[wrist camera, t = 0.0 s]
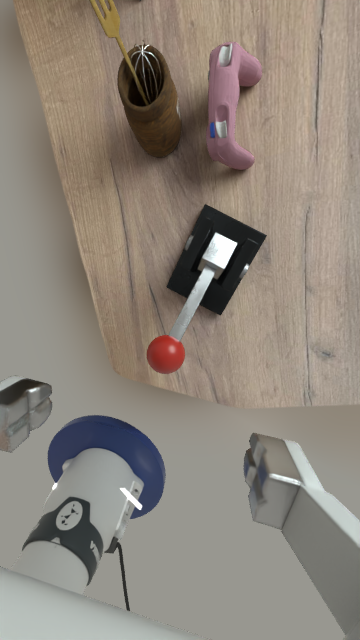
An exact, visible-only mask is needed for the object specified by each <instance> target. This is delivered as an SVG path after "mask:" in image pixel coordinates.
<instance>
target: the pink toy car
mask: <svg viewBox="0 0 360 640" xmlns="http://www.w3.org/2000/svg"><path fill="white" fill-rule="evenodd" d="M209 65H210V70H209V73H208V81H209V90H208V116H209V123H208V126H207V130H206V142H207V148H208V152H209V155H210V157H211V158H212V160H213V161H219V162H221V163H223V164H225V165H227V166H229V167H231V168H234V169H241V170H244V169H248V168H249V167H251V166H252V165H253V163H254V160H255V159H254V157H253V155H252V154H251V153H250V152H249V151H247V150H245V149H244V148H242V147H241V146H240V145H238V144H237V143H236V141H235V136H234V135H235V113H236V109H237V105H238V100H239V91H240V89H239V85H241V86H253V85H255V84H257V83H258V82H259V80H260V79H261V76H262V66H261V64H260V62H259V61H258V60H257V59H256V58H255V57H254V56H252V55H251V54H249V53H248V52H246V51H245V50H244V49H243V48H242V47H241V46H240V45H239V44H238V43H236V42H226V43H223V44H221V45H219V46H218V47H216V48H215V49H214V50H212V52H211V54H210V60H209Z"/></svg>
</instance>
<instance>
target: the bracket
mask: <svg viewBox="0 0 360 640" xmlns="http://www.w3.org/2000/svg"><path fill="white" fill-rule="evenodd" d="M215 232H216V233H218V234H220V235H222V236H224V237H226V238H228V239H230V240H232V241H234V242H236V243H237V246H236V248H235V250H234V252H233V253H232V255H231V257H230V259H229V261H228V263H227V265H226V267H225V269H224V271H223V272H222V274H221V275H220V276H219V278H218V279H215V278H214V277H213V278H212V280H211V282H210V284H209V286H208V288H207V290H206V292H205V294H204V296H203V298H202V300H201V301H200V303H199V304H200V305H201V306H203V307H205V308H207V309H209V310H211V311H213V312H215V313H217V314H219V315H221V314H222V312H223V311H224V309H225V307H226V305H227V304H228V302H229V300H230V299H231V297H232V295H233V293H234V292H235V290H236V288H237V286H238V285H239V283H240V281H241V279H242V278H243V276H244V275H245V273H246V272H247V270H248V268H249V266H250V264H251V262H252V260H253V259H254V257H255V255H256V253H257V252H258V250H259V248H260V247H261V245H262V243H263V241H264V240H265V238H266V236H267V235H265V234H263V233H261V232H259V231H257V230H255V229H253V228H251V227H249V226H247V225H245V224H243V223H241V222H239V221H238V220H236V219H234V218H232V217H230V216H228V215H226V214H224V213H222V212H220V211H218V210H216V209H214V208H212V207H210V206H208V205H206V204H205V205H204V207H203V210H202V212H201V214H200V216H199V218H198V220H197V222H196V225H195V227H194V229H193V231H192V233H191V235H190V237H189V239H188V241H187V243H186V245H185V248H184V250H183V252H182V255H181V257H180V259H179V261H178V263H177V265H176V267H175V270H174V272H173V274H172V276H171V278H170V280H169V282H168V285H167V288H169V289H171V290H173V291H174V292H176V293H178V294H180V295H182V296H184V297H186V298H188V297H189V295H190V293H191V291H192V289H193V288H194V286H195V284H196V282H197V280H198V278H199V276H200V274H201V272H202V271H200V270H198V267H199V264H200V261H201V258H202V256H203V254H204V253H205V251H206V249H207V247H208V245H209V243H210V241H211V239H212V238H213V236H214V234H215Z"/></svg>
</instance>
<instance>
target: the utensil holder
mask: <svg viewBox="0 0 360 640" xmlns="http://www.w3.org/2000/svg"><path fill="white" fill-rule="evenodd" d="M90 2H91V4H92V6H93V9H94V11H95V13H96V15H97V17H98V19H99V21H100V23H101V25H102V28H103V30H104V32H105V34H106V35H107V36H108V37H109V38H113V37H115V38H116V40H117V42H118V45H119V47H120V49H121V51H122V53H123V56H124V58H123V60H122V62H121V65H120V67H119V71H118V90H119V94H120V97H121V100H122V103H123V105H124V109H125V114H126V117H127V120H128V122H129V124H130V126H131V128H132V130H133V132H134V134H135V136H136V138H137V140H138V142H139V144H140V145H141V147H142V148H143V149H144V150H145V151H146V152H147V153H148V154H150V155H152V156H154V157H163V156H166V155H168V154H170V153H171V152H172V151H173V150H174V149H175V148H176V146H177V144H178V142H179V140H180V137H181V131H182V122H181V114H180V108H179V102H178V97H177V92H176V88H175V85H174V83H173V81H172V79H171V75H170V71H169V68H168V66H167V63H166V61H165V59H164V57H163V55H162V54H161V53H160V52H159V51H158V50H157V49H156V48H154V47H153V46H152V45H145V42H144V45H143V41H144V40H142V45H139V46H138V45H137V44H135V45H137V46H136V47H135V45H134V48H133V49H131V50H130V51H129V52H128V53H127V52H126V50H125V48H124V45H123V43H122V41H121V39H120V36H119V25H120V17H119V15H118V12H117V10H116V7H115V5H114V3H113V0H108V3H109V5H110V9H109V10H108V9H107V6H106V4H105V2H104V0H99V2H100V4H101V7H102V9H103V11H104V13H105V17H104V19H103V17H102V15H101V13H100V11H99V8H98V6H97V4H96V2H95V0H90Z"/></svg>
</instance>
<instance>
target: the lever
mask: <svg viewBox="0 0 360 640" xmlns="http://www.w3.org/2000/svg"><path fill="white" fill-rule="evenodd" d="M236 246H237V243H236V242H234V241H232V240H230V239H228V238H226V237H224V236H222V235H220V234H218V233H216V232H215V234H214V236H213V238H212V239H211V241H210V243H209V245H208V247H207V249H206V251H205V253H204V254H203V256H202V258H201V261H200V264H199V267H198V270H200V271H202V272H201V274H200V276H199V278H198V280H197V282H196V284H195V286H194V288H193V289H192V291H191V293H190V295H189V297H188V299H187V301H186V303H185V305H184V307H183V308H182V310H181V312H180V314H179V316H178V318H177V320H176V322H175V324H174V325H173V327H172V329H171V331H170V333H169V335H162V336H159V337H157V338H155V339H154V340H153V341H152V342H151V343H150V345H149V347H148V349H147V360H148V363H149V365H150V366H151V367H152V368H153V369H154V370H155V371H157V372H159V373H163V374H169V373H172V372H175V371H176V370H178V369H179V368H180V367H181V365H182V364H183V361H184V358H185V350H184V347H183V345H182V343H181V342H180V340H181V339H182V337H183V335H184V333H185V331H186V329H187V327H188V325H189V323H190V321H191V319H192V317H193V315H194V313H195V311H196V309H197V307H198V305H199V303H200V301H201V300H202V298H203V296H204V294H205V292H206V290H207V288H208V286H209V284H210V282H211V280H212V278H213V277H214V278H215V279H218V278H219V276H220V275H221V274H222V272H223V271H224V269H225V267H226V265H227V263H228V261H229V259H230V257H231V255H232V253H233V252H234V250H235V248H236Z"/></svg>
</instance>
